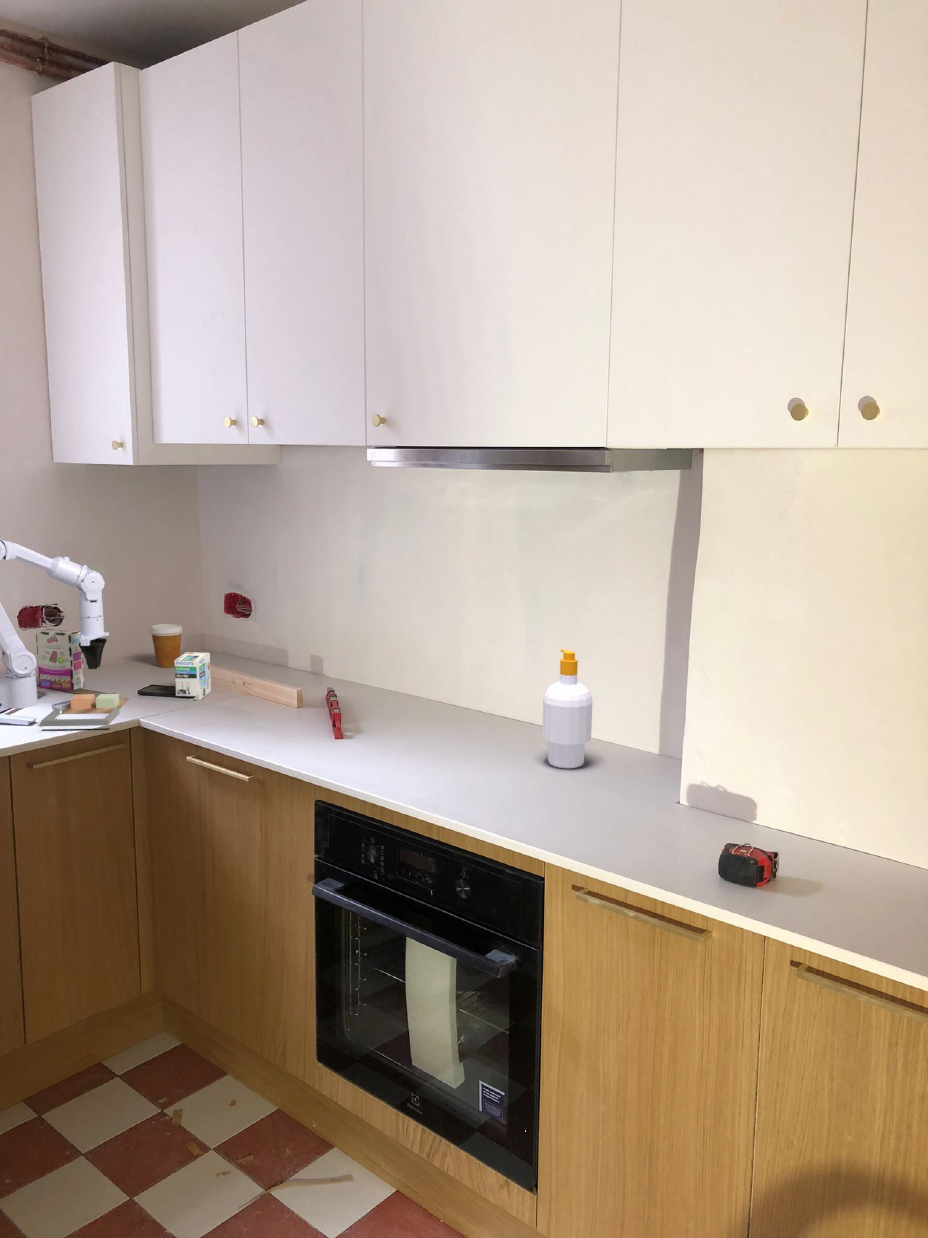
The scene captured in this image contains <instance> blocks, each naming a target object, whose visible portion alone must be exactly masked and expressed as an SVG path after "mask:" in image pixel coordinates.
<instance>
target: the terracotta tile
mask: <svg viewBox="0 0 928 1238" xmlns="http://www.w3.org/2000/svg"><path fill="white" fill-rule="evenodd" d="M95 699H96V698H95V693H87V694H86V693H85V694H83V693H82V694H81V693H80V694H79V693H77V694H74V695H73V696H72V697H71V698H70V705H71V709H89V708H91V707H92V706H93V705H94V704H95Z"/></svg>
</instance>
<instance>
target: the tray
mask: <svg viewBox="0 0 928 1238" xmlns="http://www.w3.org/2000/svg"><path fill="white" fill-rule="evenodd" d="M60 709H61V708H54V709H53V710H52V711H51V712H50V713H49V714H48V715H46V716H45V717H44V718H43V719H42V720H41V721H40V724H41V727H82V726H83V727H85V726H88V727H89V726H91V727H93V726H94V727H95V726H110V724H111V723H113V721H114V720H115V719H116V718H117V717H118V716H119V715H120V709H119V708H115V709H114V710H113V711H112V712H111V713H108V715H106V717H105V718H61V719H60V718H57V717H58V716H60V715H61V710H60ZM56 718H57V719H56ZM109 730H111V728H110V727H109V728H108V727H105V728H104V727H102V728H101V727H100V728H57V729H56V728H52V729H50V728H46V729H41V732H68V731H69V732H73V731H74V732H75V731H79V732H81V731H109Z"/></svg>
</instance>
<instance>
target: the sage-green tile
mask: <svg viewBox="0 0 928 1238" xmlns="http://www.w3.org/2000/svg"><path fill="white" fill-rule="evenodd" d="M119 698H120V694H119V693H100V694H99V695H98V696H97V697H96V698H95V699H96V708H116V707H117V706H118V704H119Z"/></svg>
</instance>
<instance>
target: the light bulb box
mask: <svg viewBox="0 0 928 1238" xmlns="http://www.w3.org/2000/svg"><path fill="white" fill-rule="evenodd" d="M174 662H175V667H174V677H175V678H174V680H175V681H174V682H175V696H176V697H177V696H178V697H181V696H182V697H194V698H193V700H194V701H201V700H203V699H204V698H205V697H206V696H207V695H208V694H209V693H210V692H212V681H211V680H212V678H211V677H212V676H211V675H212V673H211V653H210V652H197V651H195V652H193V651H187V652H185V653H183V654H182V655H180V656H179V658H177V659H176V660H174Z"/></svg>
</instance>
